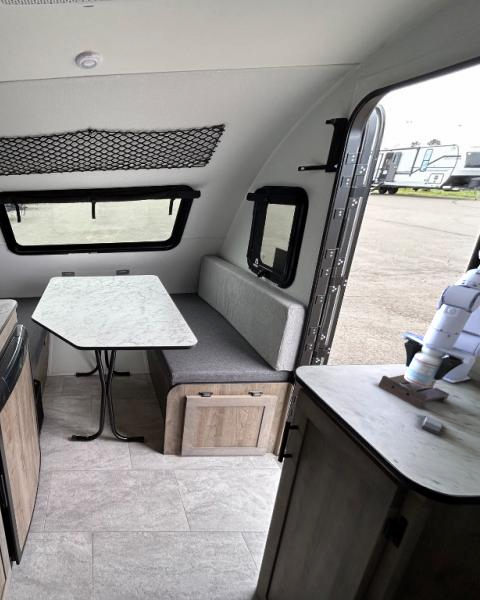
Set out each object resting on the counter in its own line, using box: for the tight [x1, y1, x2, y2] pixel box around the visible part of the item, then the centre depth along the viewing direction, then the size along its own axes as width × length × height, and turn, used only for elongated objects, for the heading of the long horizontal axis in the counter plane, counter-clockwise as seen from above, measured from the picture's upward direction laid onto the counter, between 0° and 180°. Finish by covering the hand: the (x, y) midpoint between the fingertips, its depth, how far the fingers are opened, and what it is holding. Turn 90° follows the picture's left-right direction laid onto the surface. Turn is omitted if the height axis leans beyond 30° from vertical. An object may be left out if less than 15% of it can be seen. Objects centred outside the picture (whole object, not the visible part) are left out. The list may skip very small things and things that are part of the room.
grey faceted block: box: [420, 415, 443, 436], centre depth 81 cm, size 6×3×2 cm, turn 131°
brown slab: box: [378, 374, 450, 409], centre depth 94 cm, size 12×10×4 cm
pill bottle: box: [404, 346, 446, 388], centre depth 91 cm, size 6×6×11 cm
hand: (422, 372), depth 92 cm, fingers closed on pill bottle, 6 cm apart
